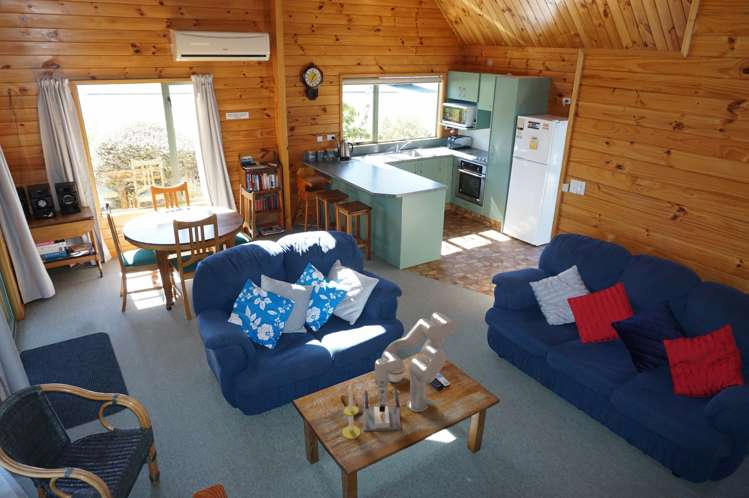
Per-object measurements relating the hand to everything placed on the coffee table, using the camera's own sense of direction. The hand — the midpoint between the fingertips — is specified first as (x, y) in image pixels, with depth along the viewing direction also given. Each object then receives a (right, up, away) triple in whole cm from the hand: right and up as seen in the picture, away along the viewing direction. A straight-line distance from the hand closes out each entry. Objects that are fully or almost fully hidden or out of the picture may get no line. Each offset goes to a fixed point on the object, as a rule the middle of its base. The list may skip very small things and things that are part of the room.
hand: (381, 405), depth 285 cm
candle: (-17, -13, -5) cm, 22 cm away
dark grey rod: (-9, +3, -2) cm, 9 cm away
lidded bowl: (+9, +5, +40) cm, 41 cm away
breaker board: (0, -10, +4) cm, 10 cm away
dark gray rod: (+8, +4, -1) cm, 9 cm away
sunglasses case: (-17, -6, +15) cm, 23 cm away
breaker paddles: (0, -6, +2) cm, 6 cm away
